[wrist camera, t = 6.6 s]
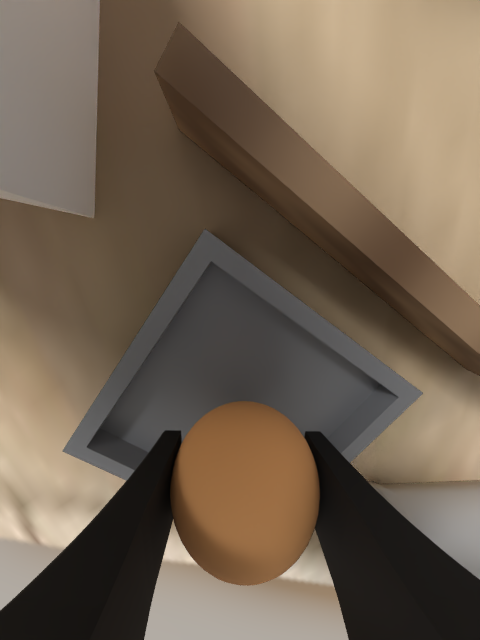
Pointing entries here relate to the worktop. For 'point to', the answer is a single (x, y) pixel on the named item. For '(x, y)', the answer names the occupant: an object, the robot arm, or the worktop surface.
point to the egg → (245, 493)
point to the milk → (49, 103)
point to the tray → (236, 366)
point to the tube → (442, 515)
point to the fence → (313, 195)
